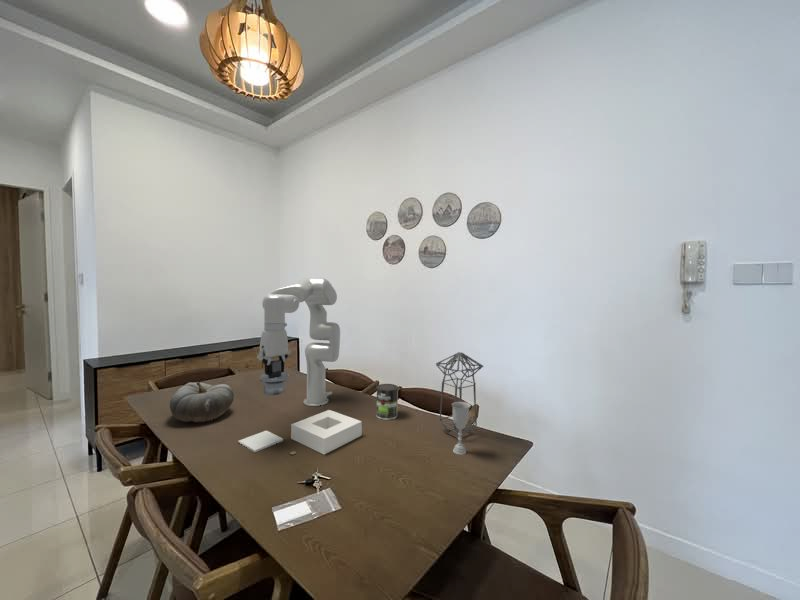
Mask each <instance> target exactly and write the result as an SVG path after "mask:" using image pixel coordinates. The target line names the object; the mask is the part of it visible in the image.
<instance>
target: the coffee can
mask: <svg viewBox="0 0 800 600" xmlns="http://www.w3.org/2000/svg"><path fill="white" fill-rule="evenodd" d="M398 396H399V386H398V385H397V384H393V383H381V384H379V385H376V415H375V416H376V418H377V419H380V420H383V421H385V420H386V421H390V420H395V419H396V418H397V417H398V405H399V402H398V398H399V397H398Z"/></svg>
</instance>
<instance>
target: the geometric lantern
mask: <svg viewBox="0 0 800 600" xmlns="http://www.w3.org/2000/svg"><path fill="white" fill-rule="evenodd" d="M446 360H448V361H447V362H444V361H446ZM456 363H457V365H456V369H453V368H454V365H455V364H456ZM460 363H461V370H460ZM473 363H474V364H473ZM444 365H445V366H444ZM449 365H450V366H449ZM467 365H468V367H467ZM435 366H436V367H437V368H438V369H439V370H440V371H441V372H442V374H443V375H444V376H443V379H442V381H441V392H440V393H441V394H440V405H439V406H440V407H439V420H438V422H439V423H440V424H441V425H442V426H444V428H445V433H447V434H449V435H451V436H453V437H455V438H457V439H458V438H459V435H458V433H459V429H457V428H456V425H455V423H454V422H453V423H451V424H446V423H445V422H443V420H446V419H448V418H453V414H451V415H449V416H446V417H442V410H443V408H442V407H443V399H444V387H445V385H447V386H450V387H453V388H454V402H457V396H458V389H459V402H463V400H462V398H463V397H462V395H463V393H462V391H463V390H462V389H464V388H465V389H466V388H469V387H473V401H474V402H473V403H474V404H473V405H474V406H473V407H474V420H473V419H471V418H469V419H468V421H471V422H472V425H470V426H468V425H466V426H465V427H464V429H462V431H461V432H462V433H465V432H466V433H467V434H465V435H463V436H461V438H462V439H463V438H464V437H467V436H469V435H471V430H472V429H473V428H475V427H477V425H478V423H477V422H478V420H477V401H476V400H477V395H476V384H477V383H476V381H475V374H476V373H477V372H479V371H480V370H481V369H482V368H484V365H483V364H481V363H480V362H478V361H476V360H475V359H473V358H472V357H470V356H469V355H467V354H465V353H464V352H459V351H458V352H456V353H455V354H453V355H449V357H446V358H444V359H442V360H440V361H438V362H436V363H435ZM448 366H449V367H448ZM464 368H465V369H464ZM450 371H451V373H450ZM457 372H461V373H462V374H463V375H462V377H461V378H459V377H457V375H456V374H455V373H457ZM470 372H471V374H470ZM452 375H454V376H455V378H453V377H452ZM447 376H449V378H450V379H447V380H446V377H447ZM464 377H465V378H464ZM470 377H472V381H469V380H467V379H468V378H470ZM454 380H456V382H455V381H454ZM449 381H452V383H453V385H452V384H449V383H446V382H449ZM458 381H460V385H459V386H458V383H459V382H458ZM464 382H468V383H470V384H471V385H466V386H462V385H463V384H464ZM452 425H453V427H452ZM449 430H450V431H451V432H454V433H456V434H457V435H454V434H453V433H451V432H449Z"/></svg>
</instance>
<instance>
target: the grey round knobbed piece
mask: <svg viewBox="0 0 800 600" xmlns="http://www.w3.org/2000/svg"><path fill="white" fill-rule="evenodd" d="M281 364H282V360H280V359H279V358H278V359H277V358H276V359H275V358H274V359H271V362H270V365H271V375H266V374H265V373H263V374H260V376H259V381H260V382H263V394H264V395H266V396H279V395H282V394H285V393H286V381H287V380H289V379H290V373H288V372H285V371H284V372H281Z"/></svg>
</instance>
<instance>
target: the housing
mask: <svg viewBox="0 0 800 600" xmlns="http://www.w3.org/2000/svg"><path fill="white" fill-rule="evenodd" d="M362 424H363V421H362V420H359V419H356V418H354V417H351V416H348V415H345V414H342V413H340V412H337V411H333V410H331V409H327V410H324V411H322V412H320V413H317V414H314V415H312V416H309V417H307V418H303V419H301V420H299V421H297V422H293V423H291V424H290V428H291V429H290V439H291V440H293V441H294V442H297V443H299V444H301V445H303V446H305V447H306V448H310V449H312V450H314V451H316V452H318V453H320V454H322V455H326V454H328V453H331V452H333V451H334V450H336V449H339V448H340V447H342V446H344V445H346V444H348V443H350V442H351V441H354V440H357V438H359V437H361V436H362V433H363V432H362V430H363V429H362V427H363V425H362Z"/></svg>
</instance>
